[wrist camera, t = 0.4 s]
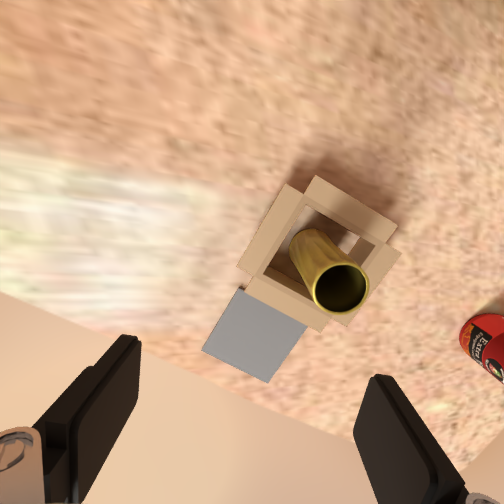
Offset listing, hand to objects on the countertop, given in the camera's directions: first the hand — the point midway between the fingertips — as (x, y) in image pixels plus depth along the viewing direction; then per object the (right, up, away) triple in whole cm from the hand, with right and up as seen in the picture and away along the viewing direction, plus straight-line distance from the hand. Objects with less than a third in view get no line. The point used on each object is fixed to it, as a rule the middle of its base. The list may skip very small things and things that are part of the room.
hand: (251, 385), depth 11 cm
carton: (+8, +6, +27) cm, 29 cm away
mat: (0, -8, +31) cm, 32 cm away
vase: (+8, +6, +27) cm, 29 cm away
